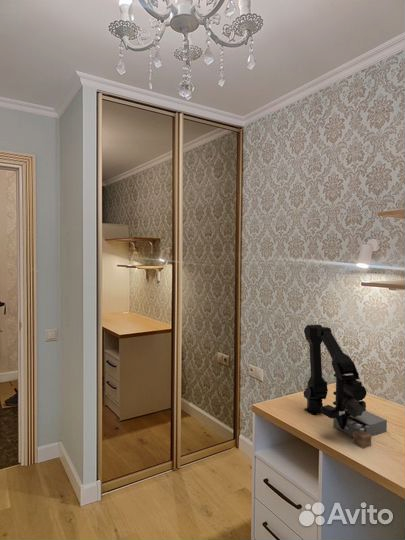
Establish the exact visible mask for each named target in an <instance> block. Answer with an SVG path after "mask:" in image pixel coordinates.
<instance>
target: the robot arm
mask: <svg viewBox="0 0 405 540" xmlns="http://www.w3.org/2000/svg"><path fill="white" fill-rule="evenodd" d="M303 332H304V336H305V340H306V342H307V343H308V345H309V367H310V376H309V379H308V381H307V386H306V388H305V389H304V391H303V397H304V398H305V399H306V401H307V402H306V403H307V405H306V406H307V407H306V408H304V410H305V412H308V413H310V414H312V415H314V416H316V415H320V414H322V415H324V416H325V417H328V418H330V419H333V418H336V419H337V421H338V424H339V426H340V428H341V429H342V430H343V429H344V428H345V426H346V423H347V421H348V419H349V417H350V416H351V415H352V416H353V417H357V416H361V415H362V413H363V411H367V410H366V409H367V403H366V402H365V401H364V399H365V398H366V397H367V389H366V387H365V386H364V385H363V383H362V381H361V380H360V374H359V372H358V369H357V368H356V365H355V363H354V361H353V359H351V357H350V356H349V355H348V354H346V353H344V352H343V350H342V348H341V347H340V345H339V343H338V341H337V340H336V338H335V336H334V335H333V333H332V329H331V327H328V326H322V324H307V325H306V326H305V327H304V329H303ZM322 343H323V345H324V346H325V348H326V350H327V352H328V354H329V356H330V357H331V366H332V368H333V371H334V374H333V377H334V378H335V391H333V396H335V401H332V405H334V406H332V405H330V404H326V405H324V404H323V400H326V399H327V397H328V392H329V389H328V382H327V381H326V380H325V379H324V377H323V369H322V368H323V365H322V348H321V346H322ZM359 380H360V381H359ZM342 430H341V431H342Z"/></svg>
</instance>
